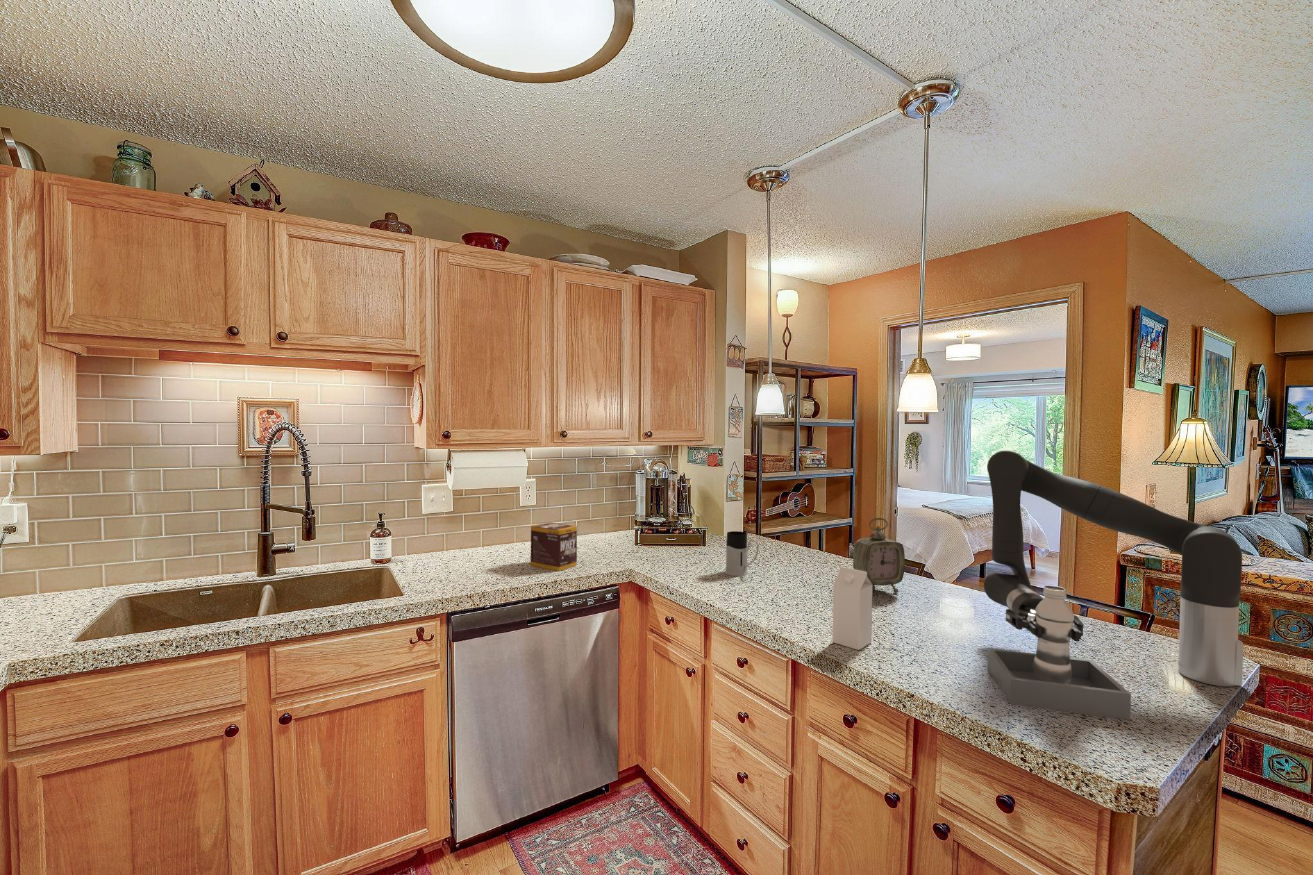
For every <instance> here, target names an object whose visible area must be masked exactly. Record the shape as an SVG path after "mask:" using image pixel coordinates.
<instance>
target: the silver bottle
mask: <svg viewBox="0 0 1313 875" xmlns="http://www.w3.org/2000/svg"><path fill="white" fill-rule="evenodd" d="M1066 594H1067V592H1066V589H1065V588H1064V587H1061V586H1057V585H1048V584H1047V585H1044V586H1043V592H1042V596H1043V598H1044V599H1043V600H1042V601H1041V602H1040V603H1039V604H1038V605H1037V607H1036V609H1035V613H1036V621H1037V624H1038V625H1039V626H1040V627H1041V628H1042V637H1041V638H1039V637H1037V645H1036V648H1035V651H1036V652H1035V654H1036V656H1035V658H1034V662H1033V670H1034V674H1035V675H1036V677H1037V678H1038V679H1039V680H1041V681H1046V682H1054V683H1062V684H1068V683H1069V682H1070V681H1071V678H1072V668H1071V664H1070V658H1071V656H1070V644H1071V642H1070V641H1071V638H1070V635H1071V630H1072V626H1073V621H1074V615H1075V614H1074V613H1073V612H1074V611H1073V610H1072V608H1071V607H1070V605H1069V604H1068V603H1067V602H1066V601H1065V600H1066V599H1067V595H1066Z"/></svg>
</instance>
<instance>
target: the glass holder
mask: <svg viewBox="0 0 1313 875" xmlns="http://www.w3.org/2000/svg"><path fill="white" fill-rule="evenodd" d="M751 542H755V544H756V551H755V556H754V558H753V559H752V561H750V563H748V551H749V550H750V546H751ZM725 546H726V549H725V550H726V552H725V553H726V554H725V556H726V557H725V560H726V561H725V571H724V574H726V575H728V576H731V577H733V576H734V577H744V576H747V575H749V570H748V567H750V565H752V563H754V562H755V561H756V560H757V557H758V553H759V550H760V548H759V543H758V541H757V540H755V539H750V540H749V541H748V533H747V532H745V531H741V530H739V531H738V530H737V531H736V530H734V531H732V530H731V531H728V532H727V533H726V545H725Z"/></svg>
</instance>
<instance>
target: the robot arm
mask: <svg viewBox="0 0 1313 875" xmlns="http://www.w3.org/2000/svg"><path fill="white" fill-rule="evenodd" d="M986 471H987V473H988V478H989V482H990V483H989V484H990V489H991V494H992V495H991V496H992V529H991V530H992V536H991V539H992V540H991V544H992V545H991V549H992V551H991V556H992V560H993V562H995V563H996V564H1000V565H1002V566H1007V567H1009V568H1010V569H1011V571H1012V574H1011V573H1000V572H992V573H989V574H987V576H986V577H985V578H984V580H983V590H984V592H985V594H986V596H987V597H988V598H989V599H990V600H991V601H993V602H994V603H996V604H999V605H1001V606H1004V607H1006V609H1005V622H1007V623H1008V624H1009V625H1011V626H1012V627H1013V628H1015V629H1016V630H1021V631H1022V630H1023V629H1025V630H1026V631H1027V632H1029V633H1031V634H1032V635H1034V636H1035V637H1036V638H1038V637H1039V638H1041V637H1042V628H1041V627H1040V626H1039V625H1038V624H1037V621H1036V613H1035V609H1036V607H1037V605H1038V604H1039V603H1040V602H1041V601H1042V600H1043V599H1044V598H1045V597H1042V596H1041V594H1038V593H1037V592H1036V591H1034V590H1033V589H1032V584H1031V581H1030V579H1029V576H1028V572H1027V569H1026V564H1025V559H1024V557H1025V556H1024V553H1025V552H1024V528H1023V527H1024V526H1023V519H1022V512H1021V511H1022V510H1021V496H1022V494H1021V493H1022V492H1024V493H1027V494H1030V495H1034V496H1036V497H1039V498H1041V499H1043V500H1045V501H1048V502H1050V503H1051V504H1052V505H1055V506H1057V507H1058V508H1060V509H1061V510H1064V511H1066V512H1068V513H1070V514H1072V515H1074V516H1076V517H1078V518H1080V519H1083V520H1085V521H1087V522H1090V523H1092V524H1094V525H1098V526H1100V527H1103V528H1106V529H1109V530H1111V531H1115V532H1118V533H1122V534H1125V535H1130V536H1133V537H1137V538H1141V539H1145V540H1147V541H1151V542H1154V543H1156V544H1158V545H1161V546H1163V547H1165V548H1167V549H1169V550H1171V551H1173V552H1176V553H1178V554H1180V555H1181V578H1180V579H1181V580H1180V603H1179V604H1180V606H1179V607H1180V608H1179V634H1178V635H1179V636H1178V638H1179V640H1178V663H1177V666H1178V667H1177V668H1178V669H1177V671H1178V672H1179V674H1181V675H1182V676H1184V677H1186V678H1189V679H1191V680H1193V681H1197V682H1200V683H1204V684H1209V685H1213V686H1218V687H1235V686H1240V687H1242V686H1243V664H1244V662H1243V661H1244V643H1243V641H1241V640H1240V639H1239V618H1240V617H1239V616H1240V614H1239V613H1240V597H1241V592H1242V574H1243V571H1242V570H1243V552H1242V549H1241V547H1240V545H1239V543H1238V541H1237V540H1236V539H1235V538H1234V537H1233V536H1232V535H1231V534H1229V533H1228V532H1226V531H1223V530H1222V529H1219V528H1216V527H1211V526H1208V525H1205V524H1201V523H1197V522H1194V521H1190V520H1187V519H1184V518H1181V517H1178V516H1175V515H1172V514H1169V513H1167V512H1164V511H1162V510H1159V509H1158V508H1155V507H1153V506H1151V505H1148V504H1147V503H1145V502H1143V501H1140V500H1138V499H1136V498H1133V497H1131V496H1129V495H1126V494H1125V493H1121V492H1119V491H1116V490H1114V489H1112V488H1109V487H1106V486H1104V485H1100V484H1097V483H1094V482H1091V481H1088V480H1084V479H1080V478H1077V477H1074V476H1068V475H1063V474H1060V473H1056V472H1054V471H1051V470H1048V469H1046V468H1044V467H1043V466H1040V465H1038V464H1035V463H1034V462H1032V461H1030V460H1028V459H1025V457H1023V456H1022V455H1021V454H1020V453H1018V452H1016V451H1013V450H1010V449H1009V450H1007V449H1005V450H999V451H998V452H995V453H993V454H992V455H991V456H990V457H989V460H988V461H987V464H986ZM1073 615H1074V621H1073V626H1072V630H1071V635H1070V640H1073V641H1074V642H1080V640H1082V636H1083V637H1084V623H1083V622H1082V621H1081V620H1080V618H1079V617H1078V616H1077V615H1075V614H1073Z"/></svg>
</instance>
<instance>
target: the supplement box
mask: <svg viewBox="0 0 1313 875" xmlns="http://www.w3.org/2000/svg"><path fill="white" fill-rule="evenodd" d="M577 553H578V526H577V525H572V524H571V525H570V524H563V523H556V522H545V523H541V524H536V525H535V524H534V525H530V562H529V563H530V566H533V567H537V568H542V569H548V570H552V571H557V572H561V571H565V570H568V569H569V568H573V567H576V566H578V565H577V564H578V562H577V560H578V558H577V557H578V554H577Z"/></svg>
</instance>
